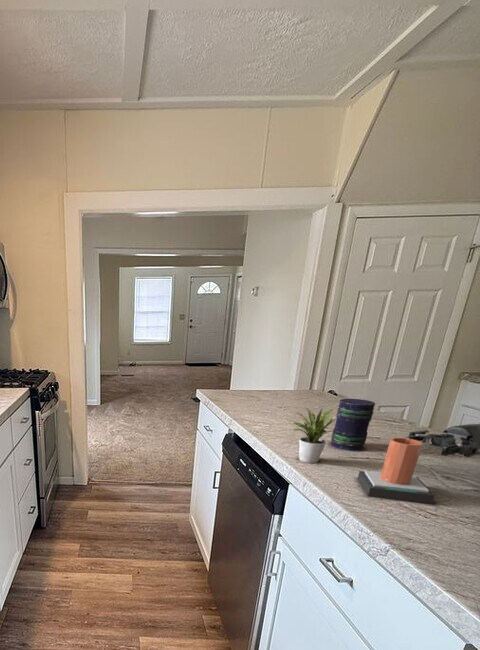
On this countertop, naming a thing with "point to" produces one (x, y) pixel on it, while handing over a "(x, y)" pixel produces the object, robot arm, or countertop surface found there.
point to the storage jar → (352, 424)
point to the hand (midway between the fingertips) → (424, 445)
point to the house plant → (312, 436)
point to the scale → (395, 488)
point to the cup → (401, 460)
